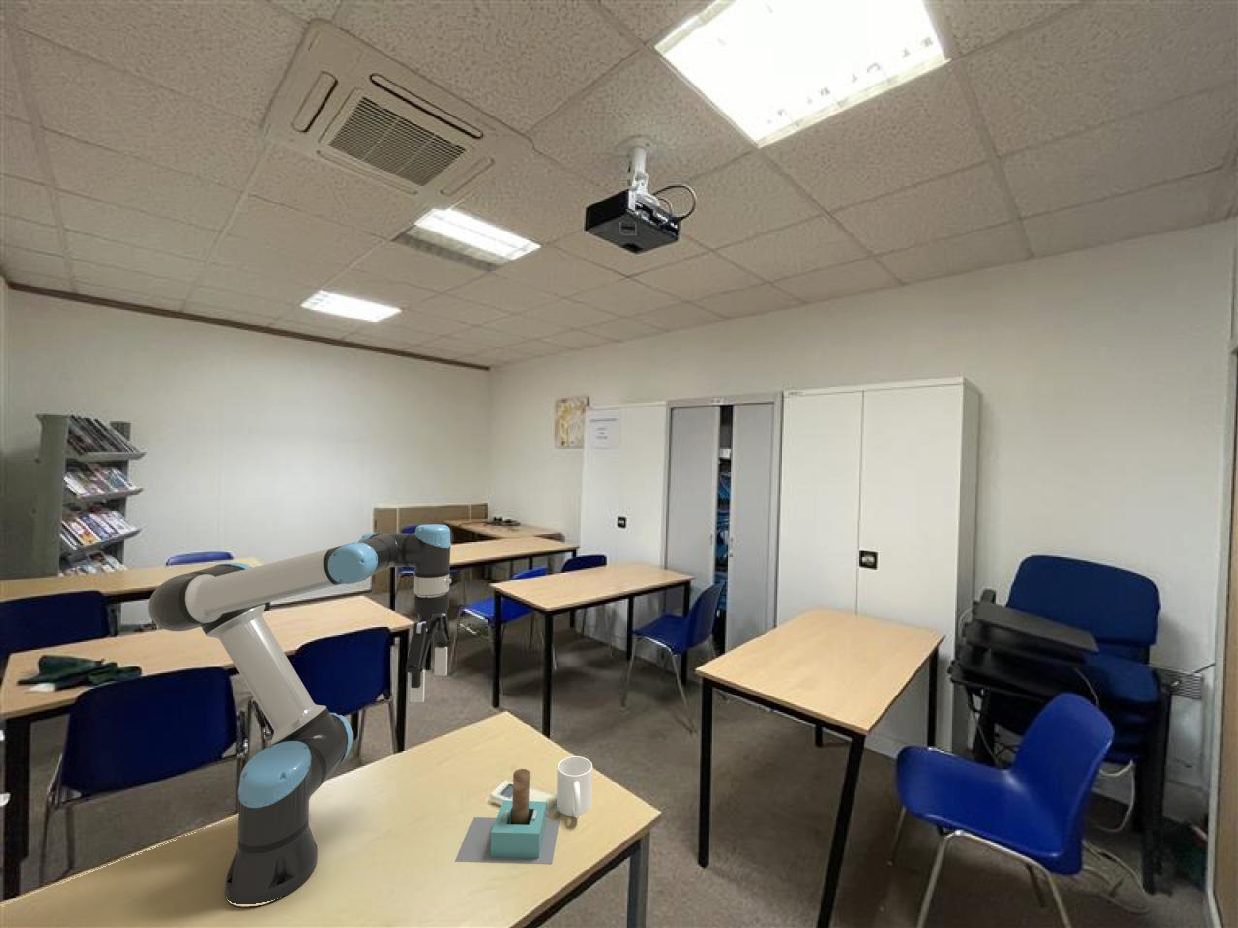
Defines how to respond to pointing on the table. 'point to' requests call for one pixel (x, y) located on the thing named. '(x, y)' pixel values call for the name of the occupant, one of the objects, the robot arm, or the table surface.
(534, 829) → the teal square peg holder
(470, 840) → the board
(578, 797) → the mug
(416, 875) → the table surface
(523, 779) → the wooden rounded dowel
